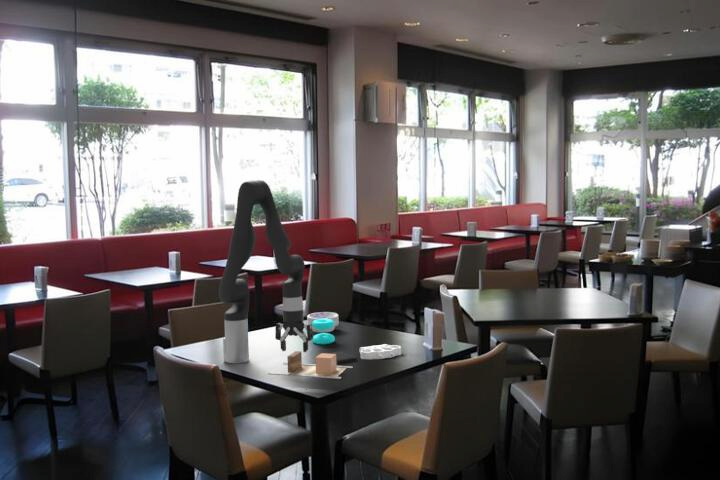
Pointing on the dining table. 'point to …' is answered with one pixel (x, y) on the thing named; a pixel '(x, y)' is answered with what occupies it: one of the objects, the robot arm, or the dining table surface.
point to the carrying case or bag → (344, 358)
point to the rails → (310, 375)
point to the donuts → (322, 325)
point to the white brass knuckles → (380, 351)
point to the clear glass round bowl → (323, 316)
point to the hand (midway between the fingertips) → (294, 351)
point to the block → (326, 363)
